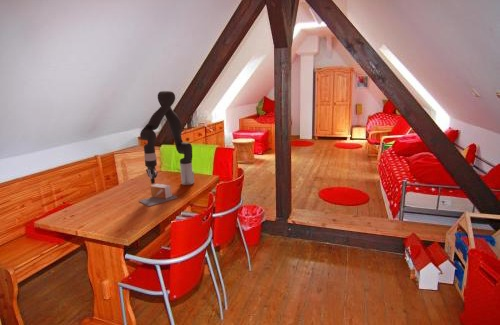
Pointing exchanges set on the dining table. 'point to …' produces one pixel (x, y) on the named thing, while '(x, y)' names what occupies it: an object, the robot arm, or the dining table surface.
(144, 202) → the slate mat
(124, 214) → the dining table surface
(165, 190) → the small box
